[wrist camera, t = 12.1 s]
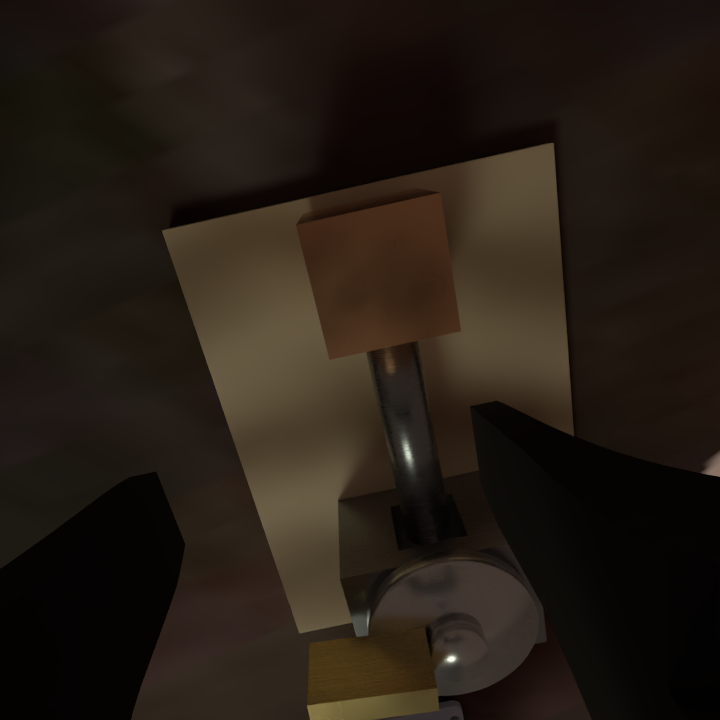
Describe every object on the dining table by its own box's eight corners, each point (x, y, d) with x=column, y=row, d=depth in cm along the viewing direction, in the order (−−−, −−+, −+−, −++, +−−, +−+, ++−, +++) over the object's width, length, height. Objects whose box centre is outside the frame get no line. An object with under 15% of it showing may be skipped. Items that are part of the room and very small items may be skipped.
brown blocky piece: (465, 489, 22) (494, 554, 18) (374, 508, 22) (383, 577, 18) (416, 187, 18) (440, 192, 14) (303, 213, 18) (296, 225, 14)
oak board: (576, 562, 25) (583, 574, 25) (300, 619, 26) (299, 633, 25) (544, 143, 18) (553, 142, 18) (168, 228, 19) (162, 230, 18)
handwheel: (530, 538, 18) (568, 608, 15) (530, 664, 20) (563, 746, 17) (300, 569, 18) (294, 645, 15) (323, 692, 20) (323, 779, 17)
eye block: (507, 556, 24) (546, 641, 20) (361, 587, 24) (368, 678, 20) (495, 466, 22) (535, 538, 18) (337, 500, 22) (339, 579, 18)
